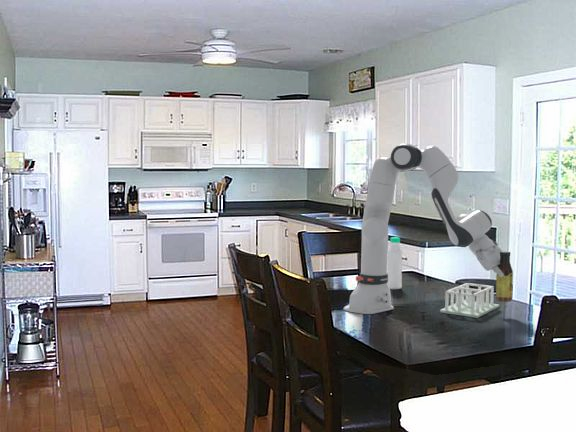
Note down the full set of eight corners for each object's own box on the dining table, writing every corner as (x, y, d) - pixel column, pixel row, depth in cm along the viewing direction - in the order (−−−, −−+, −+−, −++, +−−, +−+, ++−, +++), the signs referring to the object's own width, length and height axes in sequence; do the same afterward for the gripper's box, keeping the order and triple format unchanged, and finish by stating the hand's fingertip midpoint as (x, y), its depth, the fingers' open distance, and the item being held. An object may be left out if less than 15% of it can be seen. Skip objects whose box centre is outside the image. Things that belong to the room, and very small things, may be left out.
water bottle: (401, 286, 321) (402, 236, 319) (402, 289, 314) (403, 238, 312) (386, 286, 322) (387, 236, 320) (387, 289, 315) (388, 238, 313)
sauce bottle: (513, 302, 257) (514, 253, 256) (496, 302, 259) (498, 252, 257) (510, 299, 264) (512, 250, 262) (494, 298, 265) (496, 250, 263)
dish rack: (477, 317, 258) (478, 295, 257) (439, 312, 267) (440, 290, 267) (499, 306, 278) (499, 286, 277) (463, 301, 287) (463, 281, 287)
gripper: (479, 245, 255) (503, 273, 250) (497, 241, 272) (520, 267, 267) (468, 256, 258) (491, 283, 253) (486, 251, 275) (508, 276, 270)
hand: (506, 274), depth 260 cm, fingers closed on sauce bottle, 6 cm apart
